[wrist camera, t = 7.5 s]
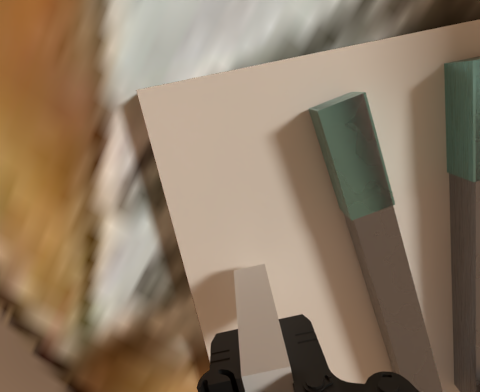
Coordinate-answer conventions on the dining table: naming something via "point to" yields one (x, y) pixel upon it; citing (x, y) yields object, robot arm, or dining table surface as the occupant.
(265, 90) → the rest board
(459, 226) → the tongs fixed
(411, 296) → the bar
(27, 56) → the dining table surface
